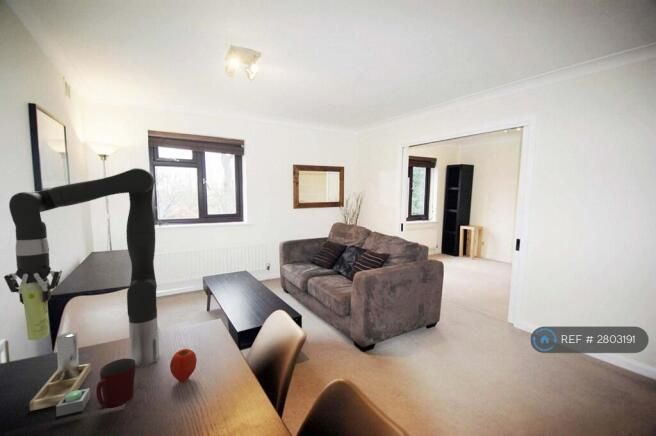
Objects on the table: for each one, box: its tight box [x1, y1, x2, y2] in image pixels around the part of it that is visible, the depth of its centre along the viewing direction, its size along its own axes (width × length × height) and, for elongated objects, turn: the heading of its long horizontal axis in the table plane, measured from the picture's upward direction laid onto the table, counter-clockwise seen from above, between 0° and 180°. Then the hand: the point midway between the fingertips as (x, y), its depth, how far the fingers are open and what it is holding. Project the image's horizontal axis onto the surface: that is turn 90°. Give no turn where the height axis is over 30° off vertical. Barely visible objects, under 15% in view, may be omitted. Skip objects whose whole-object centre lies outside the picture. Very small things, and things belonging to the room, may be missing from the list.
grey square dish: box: [55, 387, 91, 420], centre depth 84 cm, size 6×6×4 cm
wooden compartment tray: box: [29, 362, 92, 412], centre depth 92 cm, size 9×18×4 cm, turn 24°
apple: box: [169, 348, 197, 383], centre depth 98 cm, size 9×8×11 cm
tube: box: [19, 282, 50, 341], centre depth 94 cm, size 6×5×20 cm
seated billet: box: [56, 331, 80, 381], centre depth 95 cm, size 5×5×16 cm
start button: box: [66, 389, 82, 403], centre depth 84 cm, size 4×4×3 cm
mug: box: [95, 357, 136, 409], centre depth 87 cm, size 12×9×11 cm
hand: (36, 302), depth 94 cm, fingers closed on tube, 4 cm apart
